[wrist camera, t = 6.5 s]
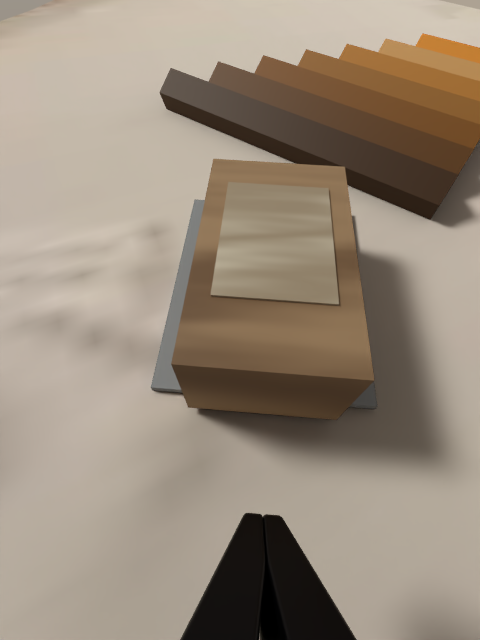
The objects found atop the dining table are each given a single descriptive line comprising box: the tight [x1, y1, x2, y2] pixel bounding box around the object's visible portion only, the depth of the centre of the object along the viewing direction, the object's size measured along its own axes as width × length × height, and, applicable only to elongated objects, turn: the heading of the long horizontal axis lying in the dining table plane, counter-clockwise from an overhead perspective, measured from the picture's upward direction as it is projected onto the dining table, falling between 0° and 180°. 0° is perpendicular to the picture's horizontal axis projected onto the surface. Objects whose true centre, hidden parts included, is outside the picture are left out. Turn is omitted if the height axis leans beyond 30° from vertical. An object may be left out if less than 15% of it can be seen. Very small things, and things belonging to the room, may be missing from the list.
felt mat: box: [151, 200, 377, 409], centre depth 20 cm, size 14×11×1 cm
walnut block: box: [171, 159, 374, 420], centre depth 17 cm, size 5×7×12 cm
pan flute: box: [160, 34, 480, 219], centre depth 31 cm, size 25×3×25 cm
